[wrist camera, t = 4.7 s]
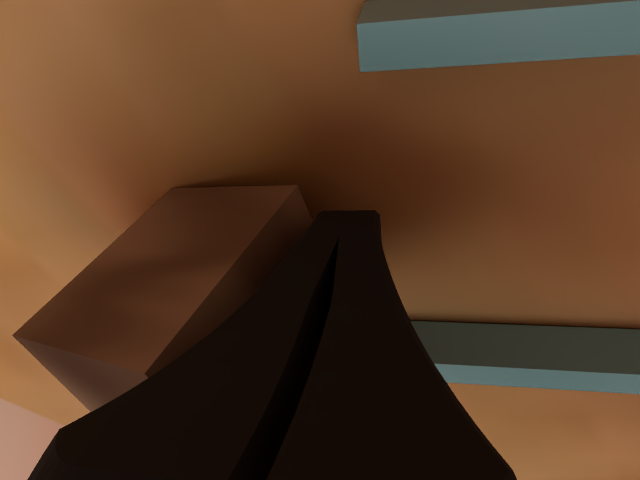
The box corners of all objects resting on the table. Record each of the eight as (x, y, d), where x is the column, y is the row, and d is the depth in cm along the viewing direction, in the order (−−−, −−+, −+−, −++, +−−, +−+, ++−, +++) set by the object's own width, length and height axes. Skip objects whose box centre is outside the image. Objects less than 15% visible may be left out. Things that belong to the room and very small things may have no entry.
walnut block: (297, 184, 11) (144, 373, 7) (350, 311, 13) (250, 498, 10) (172, 188, 13) (11, 335, 10) (236, 295, 15) (123, 443, 12)
